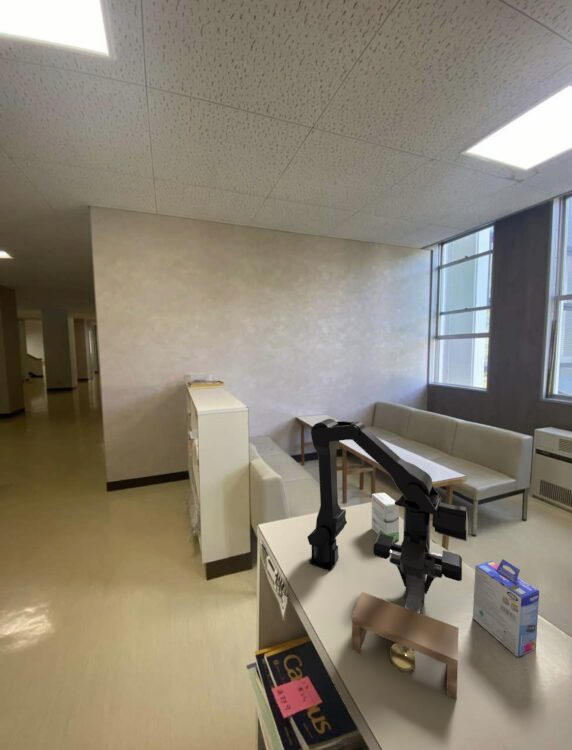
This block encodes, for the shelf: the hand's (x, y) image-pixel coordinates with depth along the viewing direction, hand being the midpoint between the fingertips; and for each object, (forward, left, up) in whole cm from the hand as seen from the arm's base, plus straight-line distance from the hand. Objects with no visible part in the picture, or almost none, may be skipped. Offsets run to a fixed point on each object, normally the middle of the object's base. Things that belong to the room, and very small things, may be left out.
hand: (415, 589), depth 74 cm
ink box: (-12, +22, -2) cm, 25 cm away
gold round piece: (0, -18, -2) cm, 18 cm away
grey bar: (0, -7, -2) cm, 7 cm away
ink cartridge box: (+17, -2, -2) cm, 17 cm away
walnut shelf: (0, -17, -2) cm, 17 cm away
